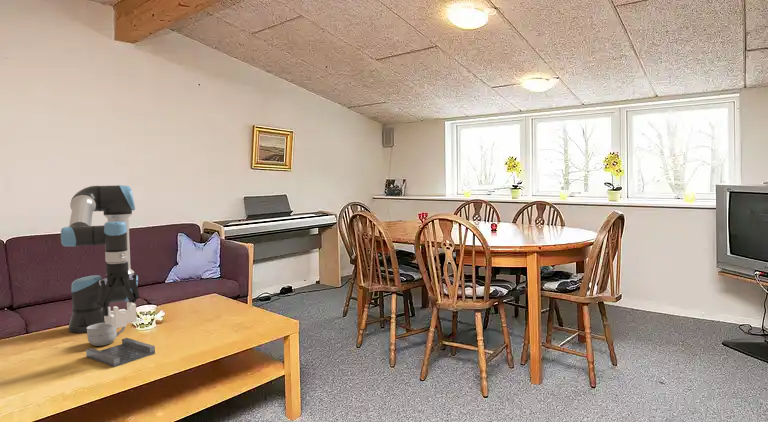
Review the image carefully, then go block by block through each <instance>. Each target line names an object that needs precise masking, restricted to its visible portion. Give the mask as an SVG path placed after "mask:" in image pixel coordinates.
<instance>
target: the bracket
mask: <svg viewBox="0 0 768 422" xmlns="http://www.w3.org/2000/svg"><path fill="white" fill-rule="evenodd" d="M134 303H135V302H134ZM134 303H131V306H130V308H129V309H128V310H127V309H125V308H122V309H121V308H120V309H119V307H118V306H116V305H115V306H113V307H112V309H113V310H111V324H110V325H112V326H113V327H115V328H117V329H118V328H123V327H125V328H126V327H128V326H127V324H132V323H136V322H137V304H136V303H135V304H134ZM104 320H105V316H104Z"/></svg>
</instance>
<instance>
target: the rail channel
mask: <svg viewBox="0 0 768 422" xmlns="http://www.w3.org/2000/svg"><path fill="white" fill-rule="evenodd" d="M155 347H156V346H155V345H154V344H153V345H152V344H149V343H145V342H142V341H139V340H136V339H132V338H128V337H125V338H122V339H121V344H118V345H114V346H111V347H108V348H104V349H100V350H99V349H97V348H96V349H95V348H93V347H90V348H87V349H85V353H86V354H85V355H86V357H85V358H88V359H91V360H93V361H96V362H98V361H99V363H101V362H102V363H101V364H104V363H105V365H107V364H108V366H110V367H113V368H116V367H119V366H122V365H125V364H127V363H130V362H134V361H137V360H139V359H142V358H146V357H148V356H152V355H154V354H156V348H155Z"/></svg>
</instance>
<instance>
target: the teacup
mask: <svg viewBox="0 0 768 422" xmlns="http://www.w3.org/2000/svg"><path fill="white" fill-rule="evenodd" d="M86 329H87V332H86V336H87V342H88V343H89V344H91V345H93V346H94V347H103V346H107V345H109V344H112V343H113V341H115V340H116V338H117V337H119V335H120V334H121V333H122V334H123V332H124V331H125V329H126V326H125V327H121V329H120V330H119V331H118V330H117V329H118V328H115V327H113V326H112V325H108V324H105V323H98V324H94V325H91V326H88V327H87V328H86ZM117 331H118V332H117Z"/></svg>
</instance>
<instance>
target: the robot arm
mask: <svg viewBox="0 0 768 422" xmlns="http://www.w3.org/2000/svg"><path fill="white" fill-rule="evenodd" d="M132 190H133V189H132V187H131V186H129V185H119V184H117V185H91V186H88V187H84V188H82V189H81V190H79V191H78V192H76V193H75V194H74V195H73V197H72V198H71V199H70V203H69V204H70V205H69V207H70V210H71V214H70V218H69V223H68V226H64V227H62V228H61V230H60V243H61V245H62V246H63V247H73V248H74V247H83V246H96V245H97V246H101V245H104V248H105V250H104V254H105V262H106V263H105V273H106V274H105V277H103V278H102V276H101V275H99V274H95V275H94V274H93V275H88V276H84V277H80V278H77V279H74V280H73V281H72V283H71V291H70V293H71V307H72V314H71V317H70V320H69V323H68V332H69V333H73V334H74V333H75V334H76V333H77V334H80V333H87V329H86V328H87V327H88V326H91V325H94V324H98V323H105V324H108V325H110V324H111V311H112V309H111V306H109V305H110V304H111V303H121V302H123V303H125V302H126V310H128V309H129V308H130V306H131V303H134V304H136V303H135V302H137V300H139V299H140V294H139V289H138V283H139V282H138V281H139V276H138V275H137V274H135V271H134V270H133V269H132V268H131V267H132V266H131V251H130V250H131V249H130V245H131V244H130V243H131V242H130V225H129V224H130V223H129V222H130V220H129V218H130V217H131V216H132V214H133V211H135V210H136V207H135V200H134V195H133V191H132ZM94 212H103V216H104V217H105V218H106V219H107V222H105V223H104V225H92V222H93V214H94ZM104 316H105V320H104Z"/></svg>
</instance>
